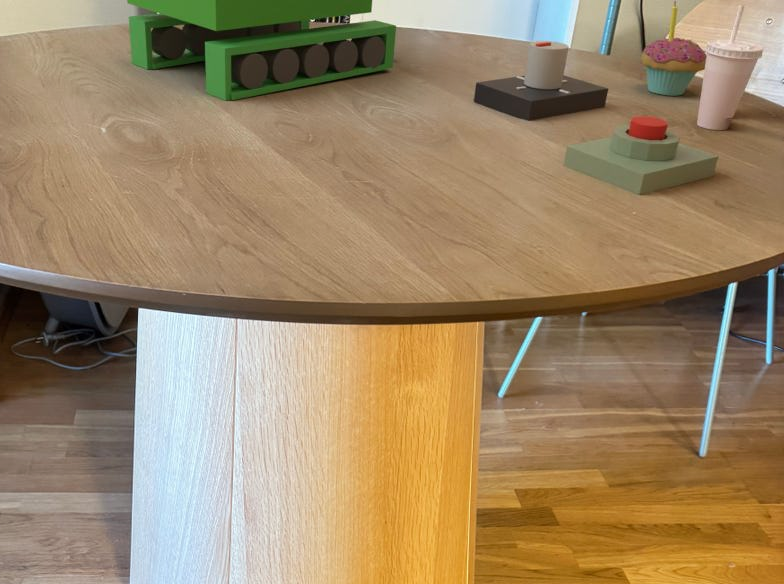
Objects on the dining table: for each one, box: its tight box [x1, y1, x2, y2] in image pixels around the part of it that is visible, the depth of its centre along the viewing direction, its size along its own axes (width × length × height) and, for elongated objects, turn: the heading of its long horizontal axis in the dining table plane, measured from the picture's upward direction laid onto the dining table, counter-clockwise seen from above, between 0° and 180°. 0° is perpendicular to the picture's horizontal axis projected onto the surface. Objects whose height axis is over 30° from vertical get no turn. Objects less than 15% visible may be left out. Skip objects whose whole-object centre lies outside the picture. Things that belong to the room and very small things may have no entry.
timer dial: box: [524, 40, 569, 90], centre depth 112 cm, size 5×5×5 cm
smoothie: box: [696, 4, 765, 131], centre depth 106 cm, size 6×6×14 cm
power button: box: [628, 115, 669, 140], centre depth 91 cm, size 4×4×2 cm
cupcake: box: [640, 0, 707, 97], centre depth 120 cm, size 9×8×12 cm
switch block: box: [563, 124, 719, 196], centre depth 92 cm, size 12×10×4 cm
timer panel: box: [473, 74, 609, 122], centre depth 114 cm, size 14×10×3 cm
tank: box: [126, 0, 397, 101], centre depth 124 cm, size 24×35×16 cm
